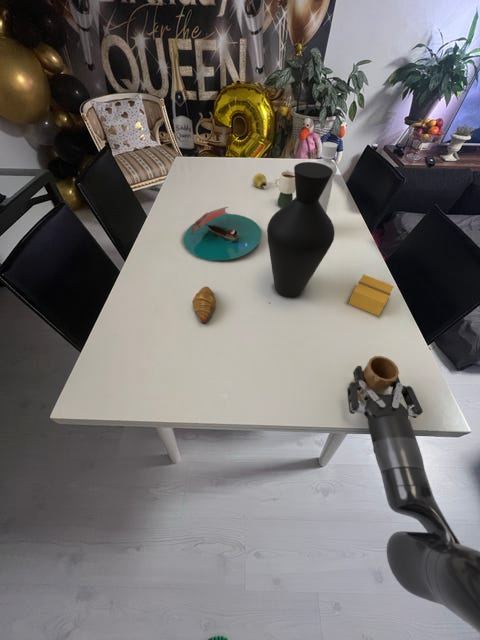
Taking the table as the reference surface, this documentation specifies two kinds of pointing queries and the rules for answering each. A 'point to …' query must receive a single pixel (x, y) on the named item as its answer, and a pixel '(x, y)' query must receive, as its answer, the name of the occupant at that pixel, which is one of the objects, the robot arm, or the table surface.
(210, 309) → the croissant
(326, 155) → the bottle
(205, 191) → the table surface
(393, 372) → the cup
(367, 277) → the box
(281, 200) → the character mug
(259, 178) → the fruit
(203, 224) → the boat on round base
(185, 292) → the table surface
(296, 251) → the vase
